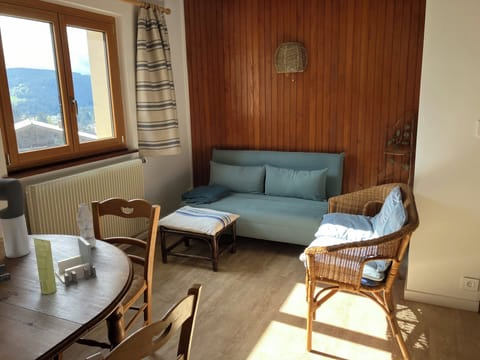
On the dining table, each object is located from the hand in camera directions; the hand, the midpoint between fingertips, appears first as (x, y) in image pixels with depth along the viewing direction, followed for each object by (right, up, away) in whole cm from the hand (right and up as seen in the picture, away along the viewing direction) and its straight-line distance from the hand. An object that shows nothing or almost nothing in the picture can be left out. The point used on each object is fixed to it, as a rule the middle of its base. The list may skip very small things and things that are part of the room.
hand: (7, 271), depth 128 cm
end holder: (+13, -6, +23) cm, 27 cm away
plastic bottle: (+9, 0, +46) cm, 47 cm away
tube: (+9, -9, +10) cm, 16 cm away
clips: (+17, -7, +16) cm, 24 cm away
